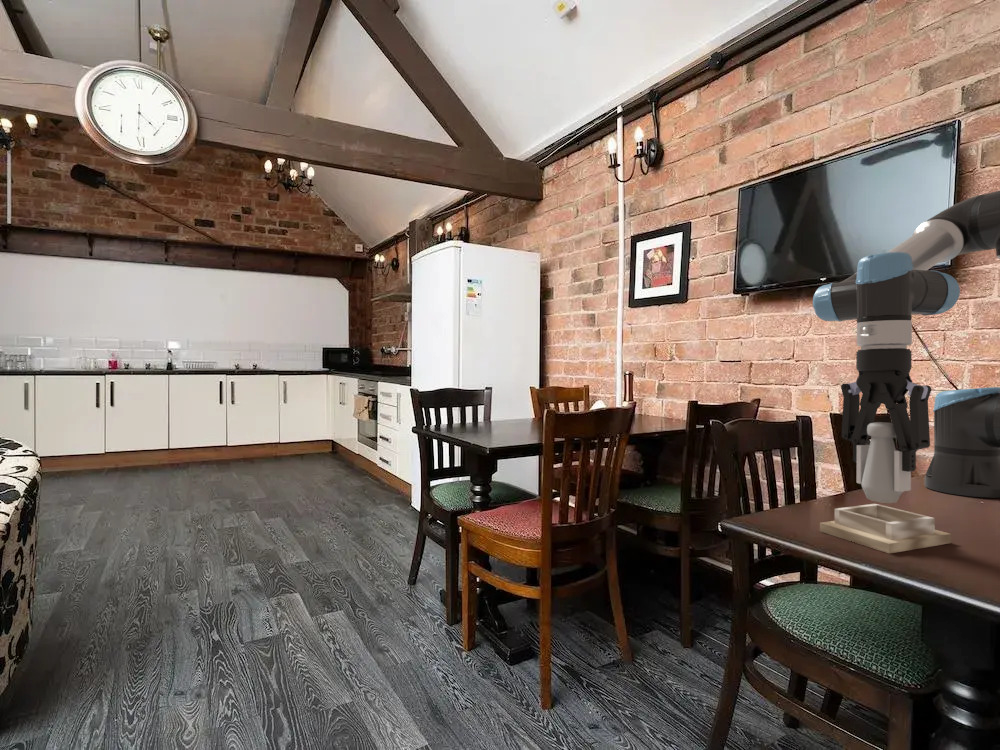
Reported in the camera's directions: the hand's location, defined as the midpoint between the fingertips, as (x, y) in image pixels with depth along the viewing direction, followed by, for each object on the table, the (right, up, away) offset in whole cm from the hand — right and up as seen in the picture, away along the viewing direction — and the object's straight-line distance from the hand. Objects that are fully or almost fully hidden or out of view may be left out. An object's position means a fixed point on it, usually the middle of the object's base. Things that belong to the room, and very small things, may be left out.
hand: (882, 486), depth 91 cm
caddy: (0, -9, 0) cm, 9 cm away
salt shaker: (0, -3, 0) cm, 3 cm away
